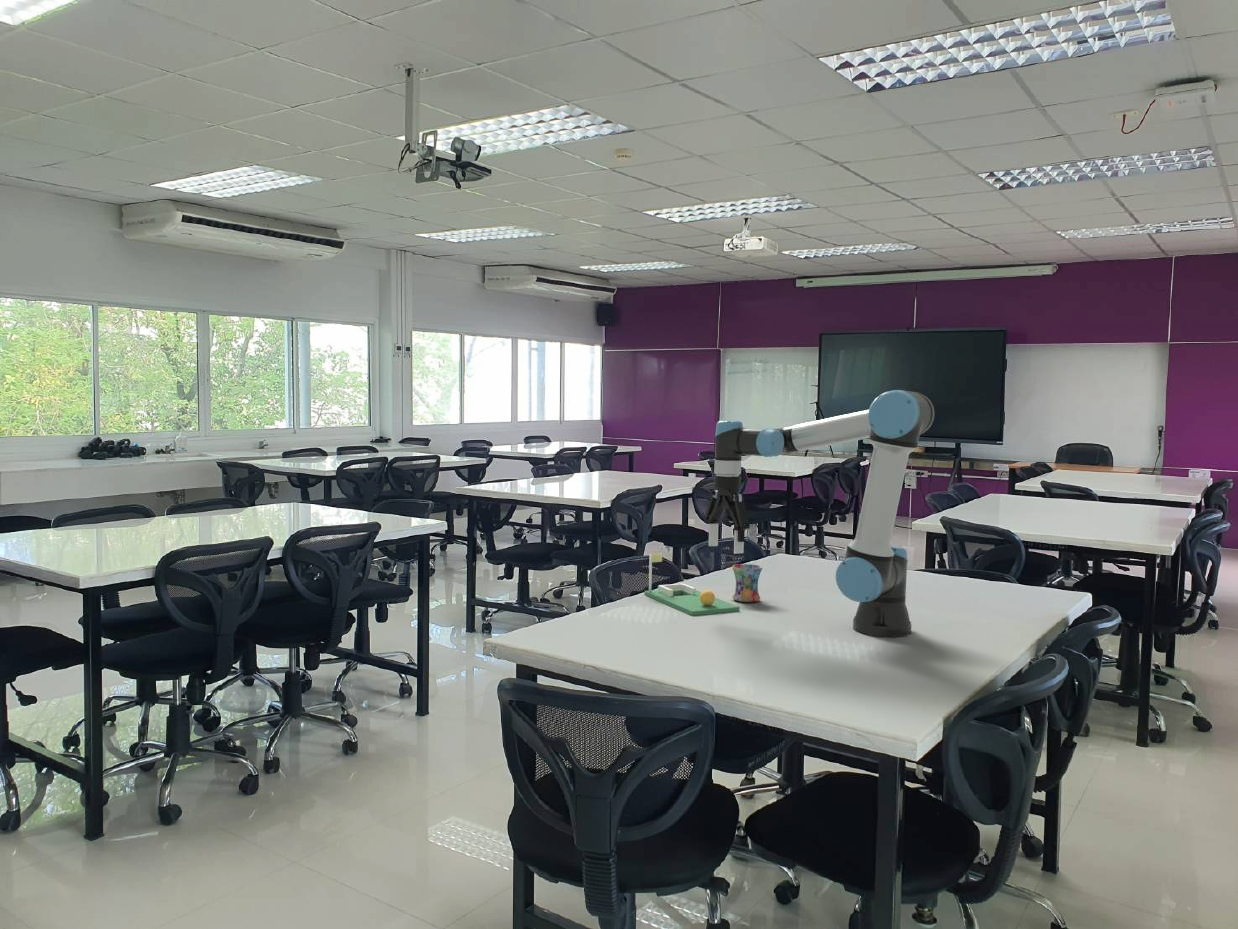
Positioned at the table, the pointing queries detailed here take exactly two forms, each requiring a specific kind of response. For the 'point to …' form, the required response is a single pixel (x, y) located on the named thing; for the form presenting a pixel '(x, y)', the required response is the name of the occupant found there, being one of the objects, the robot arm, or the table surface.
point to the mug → (746, 582)
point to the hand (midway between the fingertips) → (725, 549)
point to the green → (687, 602)
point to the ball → (707, 597)
